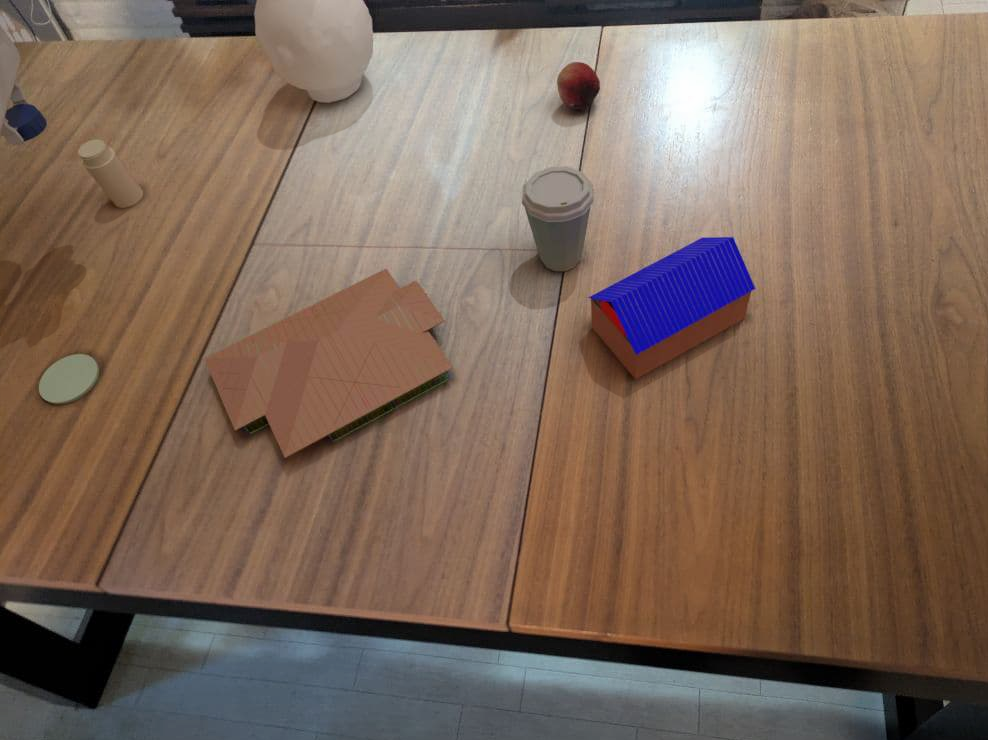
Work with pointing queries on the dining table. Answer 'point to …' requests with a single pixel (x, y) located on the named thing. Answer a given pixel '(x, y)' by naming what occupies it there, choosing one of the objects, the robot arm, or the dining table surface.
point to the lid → (26, 120)
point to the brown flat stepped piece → (332, 362)
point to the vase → (316, 44)
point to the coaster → (69, 379)
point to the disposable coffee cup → (558, 214)
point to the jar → (110, 173)
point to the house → (673, 304)
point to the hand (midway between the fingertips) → (23, 126)
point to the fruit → (578, 85)
